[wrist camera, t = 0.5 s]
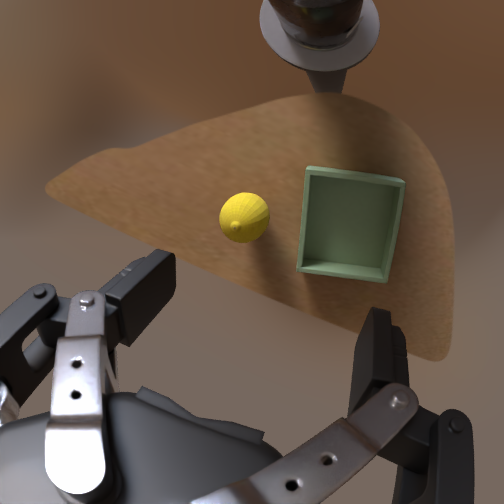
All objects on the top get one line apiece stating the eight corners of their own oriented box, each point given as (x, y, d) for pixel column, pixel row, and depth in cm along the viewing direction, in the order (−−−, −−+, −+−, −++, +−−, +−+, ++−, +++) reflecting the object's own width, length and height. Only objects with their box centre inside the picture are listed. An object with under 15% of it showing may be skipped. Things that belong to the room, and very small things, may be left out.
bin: (308, 165, 36) (305, 169, 33) (399, 177, 34) (406, 182, 31) (299, 259, 41) (296, 271, 38) (383, 271, 39) (386, 283, 35)
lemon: (224, 213, 41) (201, 233, 34) (246, 178, 39) (225, 191, 32) (260, 237, 41) (243, 262, 34) (283, 203, 39) (271, 222, 32)
